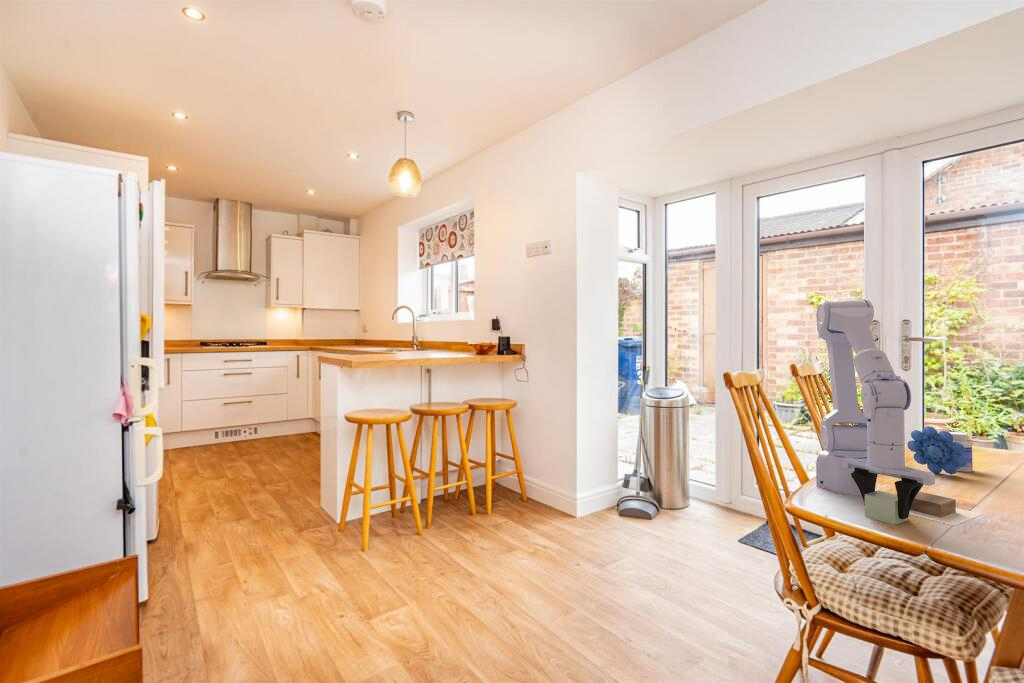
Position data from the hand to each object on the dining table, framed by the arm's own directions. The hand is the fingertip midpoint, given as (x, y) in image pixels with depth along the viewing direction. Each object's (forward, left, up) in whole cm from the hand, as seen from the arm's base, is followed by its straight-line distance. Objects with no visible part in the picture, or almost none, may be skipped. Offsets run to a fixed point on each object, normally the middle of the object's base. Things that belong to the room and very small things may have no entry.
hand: (886, 513), depth 93 cm
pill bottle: (-10, +58, -2) cm, 59 cm away
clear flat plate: (+2, +12, -2) cm, 12 cm away
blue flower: (-11, +48, -2) cm, 49 cm away
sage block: (0, 0, -2) cm, 2 cm away
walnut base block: (+2, +12, -1) cm, 12 cm away
